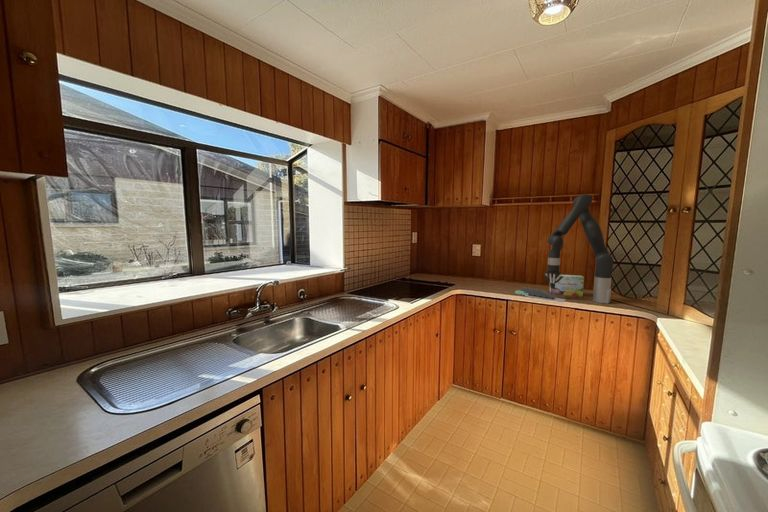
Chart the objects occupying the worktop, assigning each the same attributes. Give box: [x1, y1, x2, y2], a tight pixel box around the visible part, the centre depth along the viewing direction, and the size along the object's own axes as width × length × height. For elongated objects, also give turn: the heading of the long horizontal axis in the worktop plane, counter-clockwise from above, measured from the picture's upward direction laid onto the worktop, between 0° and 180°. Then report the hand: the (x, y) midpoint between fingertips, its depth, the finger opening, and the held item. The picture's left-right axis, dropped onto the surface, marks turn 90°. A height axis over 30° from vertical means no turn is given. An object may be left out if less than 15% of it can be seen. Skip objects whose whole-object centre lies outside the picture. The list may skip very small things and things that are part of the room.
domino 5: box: [538, 288, 556, 301], centre depth 218 cm, size 2×5×10 cm
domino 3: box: [526, 286, 541, 297], centre depth 224 cm, size 2×5×10 cm
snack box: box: [548, 274, 585, 297], centre depth 227 cm, size 21×6×15 cm, turn 73°
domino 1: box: [514, 289, 530, 297], centre depth 230 cm, size 2×5×10 cm
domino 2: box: [520, 285, 535, 296], centre depth 226 cm, size 2×5×10 cm
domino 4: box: [532, 287, 547, 298], centre depth 221 cm, size 2×5×10 cm
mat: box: [524, 295, 567, 303], centre depth 219 cm, size 26×10×1 cm, turn 44°
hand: (552, 288), depth 215 cm, fingers closed
